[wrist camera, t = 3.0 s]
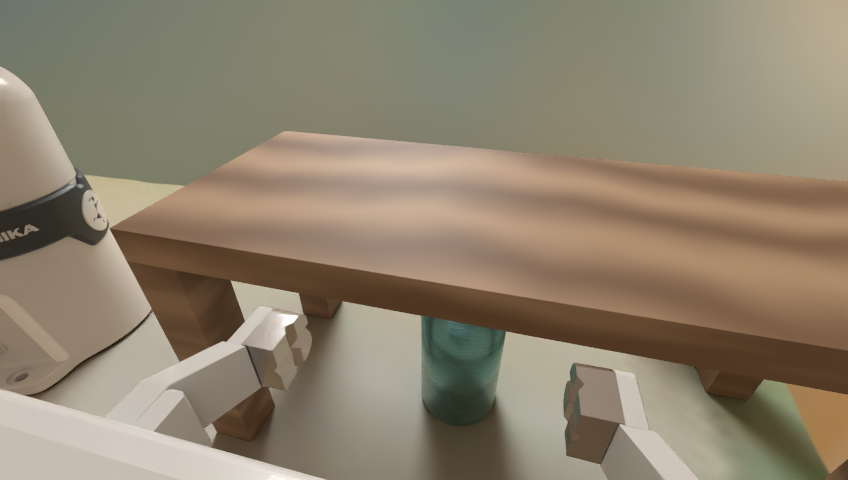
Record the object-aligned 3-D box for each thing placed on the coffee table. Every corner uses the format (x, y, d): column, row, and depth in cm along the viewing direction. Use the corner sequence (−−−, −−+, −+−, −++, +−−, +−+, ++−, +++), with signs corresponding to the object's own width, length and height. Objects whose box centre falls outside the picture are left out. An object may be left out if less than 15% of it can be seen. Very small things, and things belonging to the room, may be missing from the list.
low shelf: (853, 610, 21) (1254, 417, 11) (216, 432, 29) (109, 228, 19) (732, 370, 34) (862, 182, 24) (317, 294, 42) (284, 130, 32)
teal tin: (438, 437, 28) (442, 335, 22) (411, 373, 33) (409, 274, 27) (508, 410, 30) (529, 309, 24) (473, 353, 35) (484, 257, 29)
